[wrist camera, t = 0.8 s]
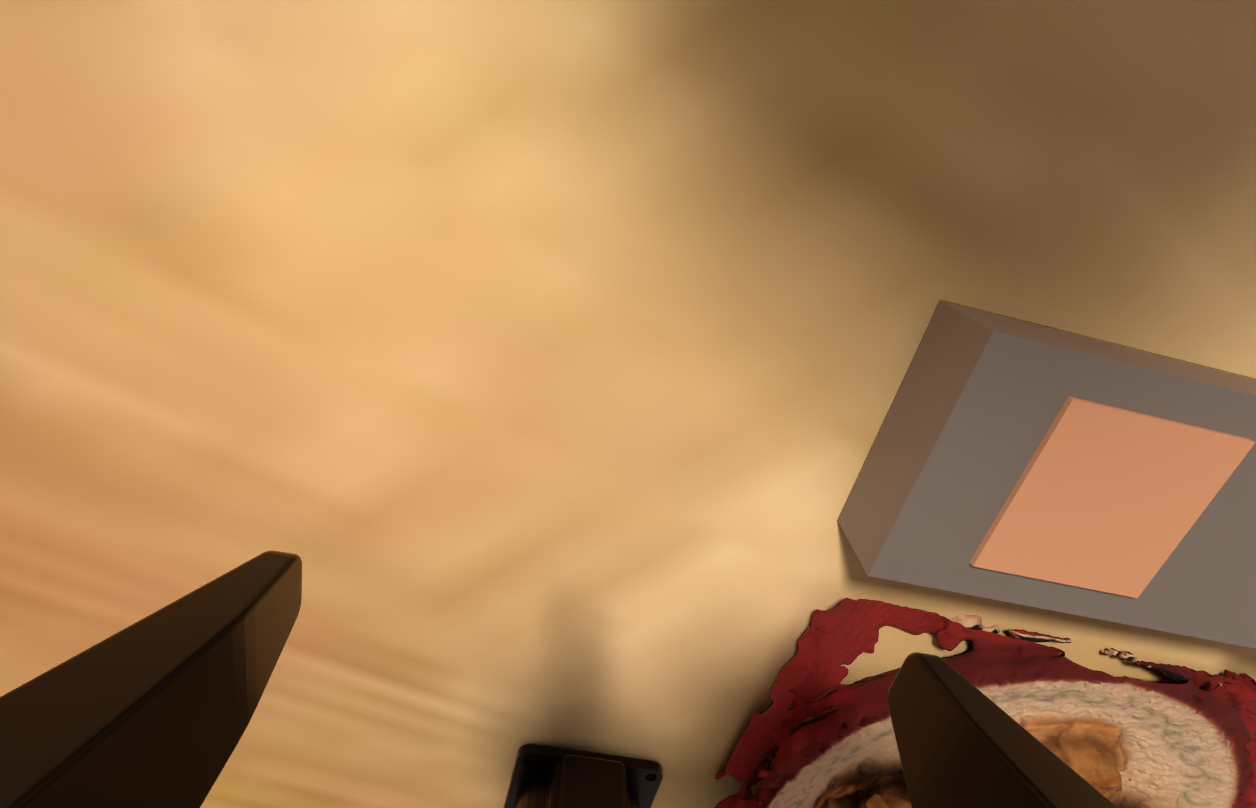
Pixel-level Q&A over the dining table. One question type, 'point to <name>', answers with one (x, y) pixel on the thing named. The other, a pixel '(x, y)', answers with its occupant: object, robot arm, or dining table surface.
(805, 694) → the plate with food
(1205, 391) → the parts holder
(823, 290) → the dining table surface
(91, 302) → the dining table surface
